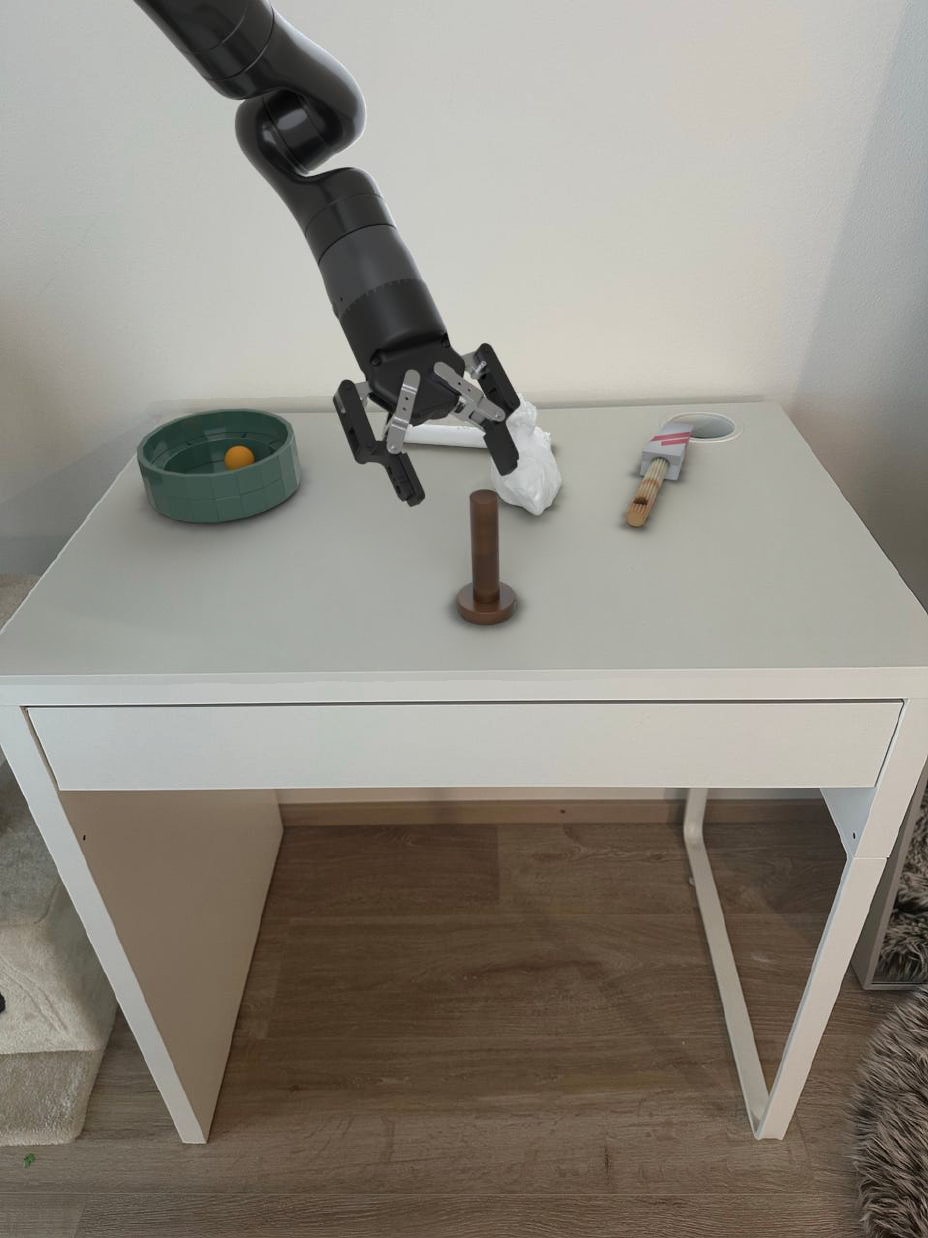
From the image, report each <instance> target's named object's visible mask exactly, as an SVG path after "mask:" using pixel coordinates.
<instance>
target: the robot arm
mask: <svg viewBox="0 0 928 1238" xmlns="http://www.w3.org/2000/svg"><path fill="white" fill-rule="evenodd" d="M132 2H134V4H135V5H136V6H138V8H140V9H141V10H142V12H143V13H144V14H145V15H146V16H147V17H148V18H149V19H150V20H151V22H153V23H154V24H155V26H156V27H157V28H158V30H160V31H161V33H163V35H164V36H165V37H166V38H167V40H169V42H170V43H171V44H172V45H173V46H174V47H175V48H176V50H177V51H178V52H179V53H180V54H181V55H182V56H183V57H184V58H185V60H186V61H187V62H188V63H189V64H190V65H191V67H193V69H194V70H195V71H196V72H197V73H198V74H199V75H200V76H201V78H202V79H203V80H204V81H205V82H206V83H207V84H208V85H209V86H210V87H211V88H212V89H213V90H214V91H215V92H216V93H218V94H219V95H220V96H222V97H224V98H226V99H229V100H233V101H241V102H240V103H239V105H238V107H237V109H236V112H235V115H234V133H235V138H236V141H237V144H238V146H239V149H240V150H241V152H242V154H243V155H244V156H245V158H246V159H247V161H248V162H249V164H251V165H252V167H253V168H254V169H255V170H256V171H257V173H258V174H259V175H260V176H261V177H262V178H263V179H264V181H266V183H267V184H268V185H269V186H270V187H271V188H272V189H273V191H274V192H275V193H276V194H277V195H278V196H279V198H280V199H281V201H282V202H283V203H284V205H285V206H286V207H287V209H288V211H289V212H290V213H291V215H292V217H293V218H294V220H295V221H296V223H297V225H298V227H299V229H300V230H301V233H302V235H303V237H304V239H305V241H306V244H307V245H308V247H309V250H310V252H311V254H312V256H313V259H314V261H315V263H316V265H317V268H318V270H319V273H320V275H321V278H322V281H323V285H324V289H325V291H326V295H327V298H328V300H329V302H330V305H331V309H332V312H333V314H334V317H335V318H336V319H337V321H338V323H339V325H340V327H341V330H342V331H343V334H344V336H345V338H346V341H347V343H348V345H349V347H350V349H351V351H352V354H353V356H354V359H355V360H356V363H357V366H358V367H359V370H360V371H361V372H362V374H363V375H364V378H365V381H361V382H356V383H355V382H354V381H353V380H352V379H351V380H350V379H343V380H342V381H341V382H340V383H339V385H338V387H337V389H336V391H335V393H334V395H333V397H332V403H333V406H334V407H335V411H336V414H337V416H338V418H339V422H340V424H341V426H342V429H343V433H344V435H345V437H346V440H347V444H348V446H349V448H350V451H351V454H352V456H353V459H354V461H355V462H356V463H357V464H359V465H367V464H368V463H373V464H376V463H377V464H379V465H381V466H382V467H383V468H384V469H385V472H386V474H387V477H388V478H389V481H390V483H391V485H392V487H393V490H394V492H395V494H396V496H397V498H398V500H400V501H401V502H402V503H404V502H406V503H407V505H408V506H409V508H413V507H416V506H419V505H420V504H421V503H422V502H423V501H424V500H425V499H426V493H425V490H424V487H423V485H422V483H421V481H420V479H419V476H418V474H417V472H416V469H415V467H414V465H413V463H412V460H411V458H410V456H409V454H408V452H403V450H402V449H403V445H404V443H405V442H404V438H405V433H406V430H407V427H408V425H409V424H410V425H412V426H413V427H415V426H418V425H421V424H425V423H426V422H427V421H430V420H432V421H433V420H441V419H445V418H447V417H448V416H449V415H451V416H452V417H454V418H455V419H457V420H459V421H460V422H468V423H469V424H471V425H472V426H473V427H474V428H478V429H480V430H481V431H483V432H484V433H486V434H485V435H484V436H483V439H484V441H485V443H486V446H487V448H486V449H487V451H488V453H489V454H490V458H491V457H492V459H493V461H494V463H495V465H496V468H497V470H498V472H499V474H500V475H501V476H505V475H508V474H511V473H512V472H513V471H514V470H515V469H516V468H517V467H518V462H517V461H518V460H519V452H518V450H517V448H516V446H515V443H514V442H513V439H512V437H511V435H510V432H509V430H508V428H507V426H506V420H507V419H508V418H509V417H510V416H511V415H512V414H513V413H514V411H515V410H517V409H518V408H519V406H520V399H519V397H518V395H517V394H518V393H517V392H516V390H515V388H514V386H513V384H512V382H511V380H510V378H509V376H508V375H507V373H506V371H505V369H504V367H503V365H502V363H501V361H500V360H499V357H498V355H497V353H496V352H495V350H494V348H493V346H492V345H491V344H490V343H487V342H483V343H481V344H480V345H479V347H478V348H477V349H475V350H474V351H471V352H468V353H465V354H462V355H461V354H460V353H458V352H457V351H456V350H455V348H454V347H453V345H452V344H451V341H450V337H449V333H448V332H449V331H448V329H447V327H446V324H445V322H444V320H443V318H442V315H441V314H440V311H439V309H438V307H437V305H436V302H435V301H434V298H433V296H432V294H431V292H430V289H429V287H428V285H427V282H426V281H425V278H424V276H423V274H422V272H421V269H420V267H419V265H418V263H417V261H416V258H415V257H414V255H413V253H412V251H411V249H410V248H409V247H408V245H407V244H406V242H405V240H404V239H403V237H402V235H401V234H400V231H399V229H398V226H397V225H396V221H395V220H394V218H393V216H392V213H391V211H390V209H389V207H388V205H387V203H386V201H385V198H384V195H383V194H382V192H381V189H380V188H379V185H378V184H377V182H376V180H375V179H374V177H373V176H372V175H371V174H370V173H369V172H368V171H367V170H365V169H363V168H360V167H357V166H342V167H337V168H334V169H330V170H326V171H323V172H321V173H316V174H313V175H309V174H311V173H312V172H314V171H315V170H317V169H318V168H320V167H321V166H323V165H325V164H326V163H327V162H329V161H330V160H332V159H333V158H335V157H336V156H338V155H339V154H341V153H343V152H344V151H346V150H347V149H350V147H351V146H353V145H354V144H356V143H357V141H359V140H360V138H361V137H362V136H363V134H364V132H365V130H366V125H367V120H368V115H367V113H368V112H367V103H366V100H365V97H364V95H363V92H362V90H361V88H360V86H359V84H358V82H357V81H356V79H355V78H354V76H353V75H352V74H351V72H349V70H348V69H347V68H346V67H345V66H344V65H343V64H342V63H341V62H340V61H339V60H338V59H336V58H335V57H334V56H333V55H332V54H330V53H329V52H328V51H327V50H325V49H324V48H322V47H321V46H320V45H319V44H317V43H315V42H314V41H313V40H311V39H310V38H308V37H307V36H305V35H304V34H303V33H302V32H300V31H299V30H298V29H296V27H294V26H293V25H292V24H290V23H289V22H288V20H286V19H285V18H284V17H283V16H282V15H281V14H280V13H279V12H278V11H277V9H276V8H275V7H274V6H273V5H272V3H271V2H270V0H132ZM465 372H466V373H468V374H469V376H470V379H471V380H474V381H475V380H476V382H477V383H478V385H479V387H480V388H479V387H477V386H476V385H474V384H473V383H471V382H470V381H468V380H467V379H465V377H464V376H465ZM460 398H461V399H464V400H465V401H461V400H460ZM368 399H369V400H370V401H372V403H374V404H376V405H377V406H378V407H380V408H381V409H383V410H384V411H386V412H387V413H386V418H385V420H384V421H385V422H384V426H383V430H382V434H381V437H382V438H381V440H377V439H376V436H375V433H374V431H373V428H372V426H371V423H370V420H369V418H368V415H367V412H366V410H365V409H366V407H367V406H368Z"/></svg>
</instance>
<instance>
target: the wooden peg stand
mask: <svg viewBox="0 0 928 1238" xmlns="http://www.w3.org/2000/svg"><path fill="white" fill-rule="evenodd" d="M468 499H469V502H468V503H469V526H470V527H469V528H470V552H471V553H470V554H471V582H469V583H468V584H465V585H464V586H463V587H461V588H460V590H459V591H458V593H457V595H456V605H457V612H458V614H459V615H460V617H461V619H464V620H465V621H467V622H469V623H471V624H475V625H480V626H493V625H498V624H501V623H504V622H505V621H507V620H509V619H510V618H512V616H514V614H515V612H516V610H517V609H516V608H517V596H516V592H515V590H514V589H513V588H512V587H511V586H510V585H508V584H507V583H505V582H503V581H500V579H501V578H500V577H501V576H500V523H499V522H500V521H499V515H500V513H499V494H498V492H497V491H495V490H493V489H490V488H489V489H487V488H481V489H476V490H474V491H472V492H470V494H469V496H468Z"/></svg>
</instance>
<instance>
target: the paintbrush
mask: <svg viewBox="0 0 928 1238" xmlns="http://www.w3.org/2000/svg"><path fill="white" fill-rule="evenodd" d="M693 428H694V424H689V423H683V422H675V421H667V422H665V424H664V425H663V426H662V427H661V429H660V430H659V431H658V432H657V433H656V434H655V435H654V437H653V438H652V439H651V440H650V441H649V442H648V444H647V445H646V446H645V447H644V449H642V451H641V457H642V462H641V466H640V471H639V476H643V479H642V481H641V483H640V485H639V487H638V489H637V490H636V493H635V495H634V497H633V499H632V501H631V503H630V505H629V507H628V509H627V511H626V513H625V519H626V520H625V521H626V522H627V524H628V525H630V526H631V527H640V526H644V524H645V523H646V520H647V519H648V516H649V514H650V511H651V509H652V508H653V504H654V502H655V500H656V497H657V495H658V492H659V491H660V488H661V487H662V483H664V479H665V480H672V481H678V479H679V475H680V472H681V469H682V465H683V462H684V458H685V456H686V452H687V448H688V445H689V441H690V438H691V435H692V432H693Z"/></svg>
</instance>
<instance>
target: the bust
mask: <svg viewBox="0 0 928 1238" xmlns="http://www.w3.org/2000/svg"><path fill="white" fill-rule="evenodd" d="M516 394H517V395H518V397H519V399H520V406H519V408H518V409H517V410H515V411H514V413H513V414H512V415H511V416H510V417H509V418H508V419H507V420H506V426H507V428H508V430H509V432H510V435H511V437H512V439H513V442H514V443H515V446H516V448H517V450H518V452H519V460H518V461H517V462H518V467H517V468H516V469H515V470H514V471H513V472H512V473H511V474H508V475H505V476H501V475H500V474H499V472H498V470H497V468H496V465H495V463H494V461H493V459H492V457H491V456H490V461H491V462H490V463H491V466H490V467H491V470H490V479H491V482H492V485H493V486H494V488H495V490H496V493H497V494H498V497H500V498H501V500H503V501H504V502H505V503H507V504H509V505H512V506H519V507H522V508H523V509H525V510H526V511H527V512H528V513H531V514H532V515H533V516H541V515H542V514H543V512H544V511H545V509H547V508H550V507H551V506H552V504H553V501H554V499H555V498H556V496H557V495H558V492H559V490H560V489H561V486H562V481H563V479H562V475H561V473H560V470H559V467H558V464H557V461H556V459H555V456H554V454H553V452H552V445H551V446H550V444H549V441H548V438H547V436H546V435H545V434H544V432H545V431H544V430H543V429H542V428H540V427H539V426H537V420H538V414H539V413H538V410H537V406H536V405H533V404H532V403H531V402H530V401H528V400H526V401H525V399H524V397H523V394H522V393H520V392H519V393H516Z"/></svg>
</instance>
